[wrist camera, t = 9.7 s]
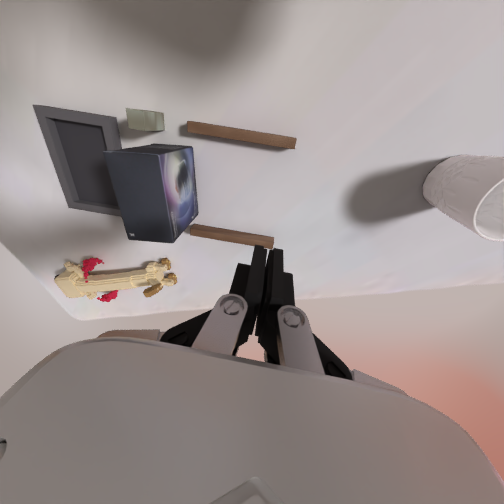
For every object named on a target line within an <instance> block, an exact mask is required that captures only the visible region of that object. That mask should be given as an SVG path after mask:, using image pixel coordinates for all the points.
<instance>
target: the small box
mask: <svg viewBox="0 0 504 504" xmlns="http://www.w3.org/2000/svg"><path fill="white" fill-rule="evenodd" d="M103 155H104V158H105V161H106V165H107V168H108V171H109V175H110V178H111V182H112V185H113V189H114V192H115V195H116V199H117V202H118V206H119V209H120V212H121V216H122V219H123V222H124V226H125V229H126V233H127V236H128V239H129V240H139V241H151V242H162V243H174V242H175V240H176V239H177V238H178V237H179V236H180V235H181V233H182V232H183V231H184V230H185V229H186V228H187V227H188V225H189V224H190V223H191V222H192V221H193V220H194V218H195V217H196V216H197V215H198V203H197V192H196V179H195V168H194V156H193V147H192V146H182V145H166V144H151V145H146V146H140V147H133V148H126V149H120V150H113V151H112V150H109V151H103Z"/></svg>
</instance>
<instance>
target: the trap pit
mask: <svg viewBox="0 0 504 504" xmlns="http://www.w3.org/2000/svg"><path fill="white" fill-rule="evenodd" d="M33 107H34V110H35V113H36V116H37V119H38V122H39V124H40V127H41V130H42V133H43V136H44V139H45V141H46V144H47V147H48V150H49V153H50V156H51V158H52V161H53V164H54V167H55V170H56V173H57V175H58V178H59V181H60V184H61V187H62V190H63V192H64V195H65V198H66V201H67V204H68V207H69V208H74V209H79V210H85V211H91V212H97V213H103V214H109V215H115V216H121V212H120V209H119V206H118V202H117V199H116V195H115V192H114V189H113V185H112V182H111V178H110V175H109V171H108V168H107V165H106V161H105V158H104V155H103V151H109V150H112V151H113V150H120V149H122V147H121V141H120V136H119V130H118V124H117V119H116V117H111V116H104V115H98V114H92V113H86V112H80V111H74V110H67V109H61V108H55V107H49V106H42V105H33ZM121 217H122V216H121Z"/></svg>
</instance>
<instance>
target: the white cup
mask: <svg viewBox="0 0 504 504" xmlns="http://www.w3.org/2000/svg"><path fill="white" fill-rule="evenodd" d="M423 196H424V198H425V199H426V200H427V201H428V202H429V203H430V204H431V205H433V206H435V207H436V208H438V209H439V210H440V211H441V212H443V213H444V214H446V215H448V216H449V217H450V218H452V219H454V220H455V221H457V222H458V223H460V224H462V225H463V226H465V227H466V228H468V229H470V230H471V231H473V232H474V233H476V234H478V235H479V236H481V237H483V238H485V239H487V240H492V241H504V157H496V156H475V155H459V156H454V157H450V158H448V159H446V160H445V161H443V162H441V163H439V164H438V165H437V166H436V167H435V168H434V169H433V170H432V171H431V172H430V173H429V174H428V175H427V178H426V180H425V182H424V184H423Z"/></svg>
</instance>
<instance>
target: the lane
mask: <svg viewBox="0 0 504 504" xmlns="http://www.w3.org/2000/svg"><path fill="white" fill-rule="evenodd" d="M126 113H127V120H128V126H129V129H135V130H141V131H159V130H165V127H164V114H163V113H160V112H154V111H147V110H138V109H129V108H126ZM187 131H188V132H191V133H197V134H204V135H210V136H216V137H222V138H228V139H234V140H241V141H247V142H253V143H259V144H265V145H271V146H278V147H284V148H290V149H295V144H296V140H297V139H296V138H293V137H287V136H281V135H275V134H269V133H262V132H256V131H250V130H244V129H238V128H231V127H225V126H219V125H213V124H207V123H200V122H194V121H187ZM190 235H192V236H198V237H204V238H210V239H216V240H222V241H228V242H233V243H239V244H245V245H251V246H255V244H256V245H261V246H264V248H268V249H272V248H273V244H274V237H269V236H263V235H257V234H251V233H245V232H239V231H233V230H227V229H222V228H216V227H210V226H204V225H198V224H194V225H193V226H192V227H191V228H190Z"/></svg>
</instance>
